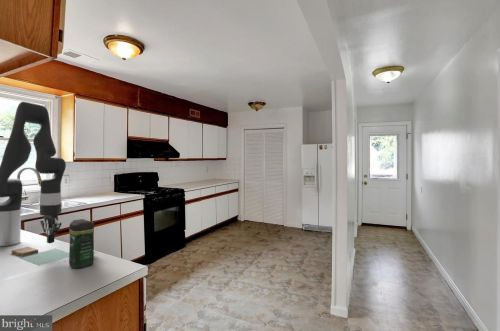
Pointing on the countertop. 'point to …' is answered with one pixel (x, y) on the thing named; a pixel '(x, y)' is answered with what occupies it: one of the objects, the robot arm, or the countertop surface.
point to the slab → (24, 251)
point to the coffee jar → (81, 243)
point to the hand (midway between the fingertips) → (50, 242)
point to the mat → (46, 256)
